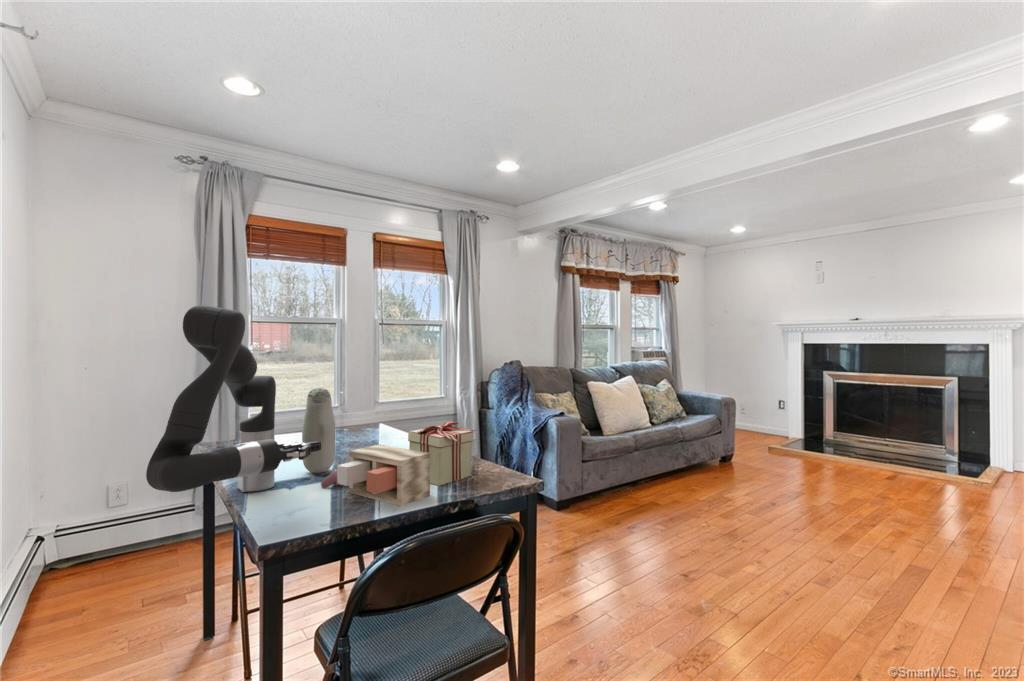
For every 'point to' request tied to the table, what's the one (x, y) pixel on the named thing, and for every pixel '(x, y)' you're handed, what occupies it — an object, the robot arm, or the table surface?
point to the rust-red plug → (382, 479)
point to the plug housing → (409, 473)
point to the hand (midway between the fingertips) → (319, 445)
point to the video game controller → (330, 479)
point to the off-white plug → (352, 472)
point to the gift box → (444, 451)
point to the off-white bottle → (319, 430)
